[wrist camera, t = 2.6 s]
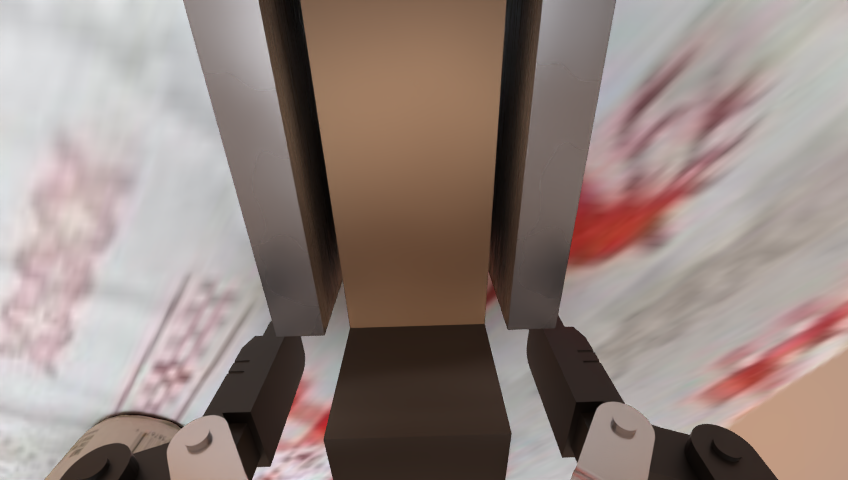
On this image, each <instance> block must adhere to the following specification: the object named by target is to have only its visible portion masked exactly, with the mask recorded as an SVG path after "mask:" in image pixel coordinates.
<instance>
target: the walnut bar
mask: <svg viewBox="0 0 848 480" xmlns="http://www.w3.org/2000/svg"><path fill="white" fill-rule="evenodd" d="M300 2H301V9H302V16H303V22H304V29H305V35H306V42H307V48H308V55H309V61H310V68H311V74H312V81H313V88H314V94H315V101H316V107H317V114H318V120H319V127H320V133H321V140H322V146H323V153H324V160H325V166H326V173H327V179H328V186H329V192H330V199H331V205H332V212H333V218H334V225H335V232H336V238H337V245H338V251H339V258H340V264H341V271H342V277H343V284H344V290H345V297H346V304H347V310H348V317H349V323H350V331H349V335H348V339H347V344H346V348H345V352H344V356H343V360H342V364H341V369H340V373H339V377H338V381H337V385H336V390H335V394H334V398H333V402H332V406H331V410H330V415H329V419H328V423H327V427H326V431H325V436H324V444H325V448H326V452H327V456H328V460H329V464H330V468H331V473H332V477H333V480H505V477H506V470H507V463H508V455H509V448H510V441H511V430H510V426H509V422H508V417H507V413H506V409H505V405H504V401H503V397H502V393H501V389H500V385H499V381H498V377H497V373H496V369H495V365H494V360H493V356H492V352H491V348H490V344H489V340H488V336H487V332H486V328H485V310H486V295H487V280H488V265H489V251H490V236H491V221H492V206H493V192H494V177H495V162H496V147H497V133H498V118H499V103H500V88H501V73H502V59H503V44H504V29H505V14H506V0H300Z"/></svg>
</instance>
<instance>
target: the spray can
mask: <svg viewBox="0 0 848 480" xmlns="http://www.w3.org/2000/svg"><path fill="white" fill-rule="evenodd" d="M180 429H182V428H180V427H179V426H177V425H176V424H174V423H172V422H170V421H166V420H161V419H155V418H152V417H147V416H140V415H118V416H116V417H113V418H108V419H105V420H104V421H102V422H100V423H98V424H97V425H95V426H94V427H93V428H91V429H90V430H88V431H87V432H86V433H85V434H84V435H83V436H82V437H81V438H80V439H79V440H78V441H77V442H76V443H75V445H74V446H73V447H72V448H71V449H70V450H69V452H68V453H67V454H66V455H65V456H64V458H63V459H62V460H61V461H60V462H59V463H58V464H57V466H56V467H55V468H54V469H53V470H52V471H51V473H50V474H49V475H48V476H47V477H46V478H45V480H60V478H61V477H62V476H63V475H64V473H65V472H66V471H67V470H68V469H69V468H70V467H71V466H72V465H73V464H74V463H75V462H76V461H77V460H79V459H80V458H81V457H83V456H84V455H85V454H87V453H89V452H90V451H92V450H94V449H96V448H98V447H101V446H104V445H107V444H112V443H122V444H125V445H127V446H128V447H129V449H130V450H131V452H132V453H137V452H140V451H143V450H146V449H149V448H153V447H156V446H159V445H162V444H165V443H168V442H171V440H172V438H173V437H174V436H175V435H176V433H177V432H178V431H179V430H180Z"/></svg>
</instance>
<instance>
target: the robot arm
mask: <svg viewBox="0 0 848 480" xmlns="http://www.w3.org/2000/svg"><path fill="white" fill-rule="evenodd" d="M527 359H528V363H529V367H530V369H531V372H532V375H533V378H534V380H535V383H536V386H537V389H538V392H539V394H540V397H541V400H542V403H543V405H544V408H545V411H546V414H547V417H548V419H549V422H550V425H551V428H552V430H553V433H554V436H555V439H556V441H557V444H558V447H559V450H560V453H561V455H562V458H564V457H575V459H576V461H577V466H576V468H575V470H574V472H573V474H572V477H571V480H778V479H777V478H776V476H775V475H774V474H773V473H772V471H771V470H770V469H769V467H768V466H767V465H766V464H765V462H764V461H763V460H762V459H761V457H760V456H759V455H758V453H757V452H756V451H755V450H754V449H753V447H752V446H751V445H750V444H748V442H746V441H745V440H744V439H743V438H741V437H740V436H738V435H737V434H735V433H733V432H732V431H730V430H728V429H725V428H723V427H720V426H717V425H712V424H702V425H698V426H696V427H695V428H694V429H693V430H692V432H691V434H690V435H688V434H684V433H680V432H676V431H672V430H668V429H664V428H660V427H657V426H654V425H652V424H651V423H650V422H649V421H648V419H647V418H646V417H645V416H644V415H643V414H642V413H640V412H639V411H638V410H636V409H635V408H633V407H631V406H629V405H626V404H625V403H624V402H623V400H622V398H621V396H620V395H619V393H618V391H617V390H616V388H615V386H614V385H613V383H612V381H611V380H610V378H609V376H608V375H607V373H606V371H605V369H604V368H603V366H602V364H601V363H599V359H598V358H597V356H596V354H595V353H593V349H592V347H591V346H590V344H589V342H588V341H587V339H586V337H584V336H583V335H582V334H581V333H580V332H579V331H577V330H576V329H575V328H574V327H564V325H563V323H562V321H561V320H560V318H559V316H558V317H557V322H556V328H549V329H529V334H528V341H527ZM304 366H305V353H304V348H303V344H302V340H301V336H286V337H277V336H276V333H275V329H274V326H273V322H272V321H271V322H270V324H269V325H268V327H267V329H266V331H265V333H264V335H263V336H255V337H254V338H253V339H252V340H250V341H249V342H248V343H247V344H246V345H245V346H244V347H243V348H242V349H241V351H240V353H239V354H238V356H237V358H236V360H235V363H233V365H232V367H231V368H230V370H229V374H227V375H226V377H225V379H224V380H223V382H222V384H221V386H220V387H219V389H218V391H217V393H216V394H215V396H214V398H213V399H212V401H211V403H210V405H209V406H208V408H207V410H206V412H205V413H204V415H203V416H202V417H201V418H198V419H196V420H193V421H192V422H190V423H188V424H187V425H185V426H184V427H183V428H182V429H180V430H179V431H178V432H177V433H176V435H175V436H174V437H173V438H172V440H171V442H168V443H165V444H162V445H159V446H156V447H153V448H149V449H146V450H143V451H140V452H137V453H132V452H131V450H130V449H129V447H128V446H127V445H125V444H122V443H112V444H107V445H104V446H101V447H98V448H96V449H94V450H92V451H90V452H89V453H87V454H85V455H84V456H83V457H81V458H80V459H79V460H77V461H76V462H75V463H74V464H73V465H72V466H71V467H70V468H69V469H68V470H67V471H66V472H65V473H64V475H63V476H62V477H61V478H60V480H252V478H253V475H254V473H255V470H256V468H257V467H270V466H271V463H272V460H273V458H274V455H275V452H276V449H277V446H278V443H279V440H280V437H281V435H282V432H283V429H284V426H285V423H286V420H287V417H288V414H289V411H290V409H291V406H292V403H293V400H294V397H295V394H296V391H297V388H298V385H299V383H300V380H301V377H302V374H303V371H304Z"/></svg>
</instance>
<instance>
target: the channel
mask: <svg viewBox="0 0 848 480" xmlns="http://www.w3.org/2000/svg"><path fill="white" fill-rule="evenodd" d="M183 2H184V5H185V9H186V13H187V16H188V20H189V23H190V27H191V31H192V34H193V38H194V41H195V45H196V49H197V52H198V56H199V59H200V63H201V67H202V70H203V74H204V77H205V81H206V85H207V88H208V92H209V95H210V99H211V103H212V106H213V110H214V113H215V117H216V121H217V124H218V128H219V131H220V135H221V139H222V142H223V146H224V149H225V153H226V157H227V160H228V164H229V167H230V171H231V175H232V178H233V182H234V185H235V189H236V193H237V196H238V200H239V203H240V207H241V211H242V214H243V218H244V221H245V225H246V228H247V232H248V236H249V239H250V243H251V246H252V250H253V254H254V257H255V261H256V264H257V268H258V272H259V275H260V279H261V282H262V286H263V290H264V293H265V297H266V300H267V304H268V308H269V311H270V315H271V318H272V322H273V326H274V329H275V333H276V336H277V337H286V336H319V335H325V332H326V329H327V326H328V323H329V320H330V317H331V314H332V311H333V307H334V304H335V301H336V298H337V295H338V292H339V289H340V286H341V283H342V280H343V277H342V271H341V264H340V258H339V251H338V245H337V238H336V232H335V225H334V218H333V212H332V205H331V199H330V192H329V186H328V179H327V173H326V166H325V160H324V153H323V146H322V140H321V133H320V127H319V120H318V114H317V107H316V101H315V94H314V88H313V81H312V74H311V68H310V61H309V55H308V48H307V42H306V35H305V29H304V22H303V16H302V9H301V2H300V0H183ZM615 3H616V0H506V14H505V29H504V44H503V59H502V73H501V88H500V103H499V118H498V133H497V147H496V162H495V177H494V192H493V206H492V221H491V236H490V251H489V265H488V270H489V273H490V277H491V280H492V283H493V286H494V289H495V292H496V295H497V298H498V301H499V304H500V307H501V311H502V314H503V317H504V320H505V323H506V326H507V329H508V330H516V329H549V328H556V322H557V317H558V311H559V306H560V301H561V295H562V290H563V284H564V279H565V273H566V268H567V263H568V257H569V252H570V246H571V241H572V236H573V230H574V225H575V219H576V214H577V209H578V203H579V198H580V192H581V187H582V182H583V176H584V171H585V165H586V160H587V155H588V149H589V144H590V138H591V133H592V127H593V122H594V117H595V111H596V106H597V100H598V95H599V90H600V84H601V79H602V73H603V68H604V63H605V57H606V52H607V46H608V41H609V36H610V30H611V25H612V19H613V14H614V8H615Z"/></svg>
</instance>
